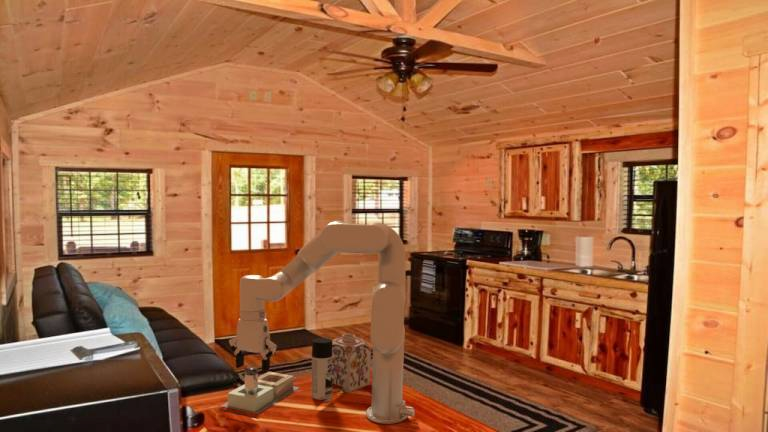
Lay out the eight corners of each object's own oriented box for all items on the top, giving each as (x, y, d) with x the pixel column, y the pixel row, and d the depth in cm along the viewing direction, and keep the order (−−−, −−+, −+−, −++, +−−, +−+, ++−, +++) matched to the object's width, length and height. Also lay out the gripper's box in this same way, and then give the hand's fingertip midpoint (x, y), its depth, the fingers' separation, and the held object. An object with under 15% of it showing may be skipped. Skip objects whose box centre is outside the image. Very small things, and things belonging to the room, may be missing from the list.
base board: (299, 391, 185) (299, 387, 184) (258, 418, 162) (258, 414, 162) (265, 385, 190) (265, 380, 190) (220, 410, 168) (220, 405, 168)
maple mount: (293, 387, 184) (293, 375, 184) (276, 397, 175) (276, 385, 175) (268, 382, 188) (268, 371, 188) (251, 392, 179) (251, 380, 179)
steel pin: (260, 401, 172) (260, 367, 171) (252, 406, 168) (253, 371, 167) (249, 399, 173) (250, 365, 172) (241, 404, 169) (242, 369, 169)
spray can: (328, 405, 174) (329, 343, 173) (308, 402, 175) (309, 342, 174) (334, 397, 181) (335, 338, 180) (314, 395, 182) (315, 336, 181)
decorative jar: (324, 385, 191) (325, 335, 191) (347, 376, 200) (348, 329, 199) (348, 394, 184) (350, 342, 183) (371, 385, 193) (372, 335, 192)
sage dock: (273, 399, 173) (273, 387, 173) (254, 411, 164) (254, 398, 164) (247, 394, 177) (247, 382, 177) (227, 405, 168) (227, 393, 168)
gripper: (282, 315, 169) (282, 368, 170) (237, 310, 176) (237, 361, 177) (268, 320, 162) (269, 376, 163) (222, 315, 169) (222, 368, 170)
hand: (252, 368), depth 170 cm, fingers open, 9 cm apart
